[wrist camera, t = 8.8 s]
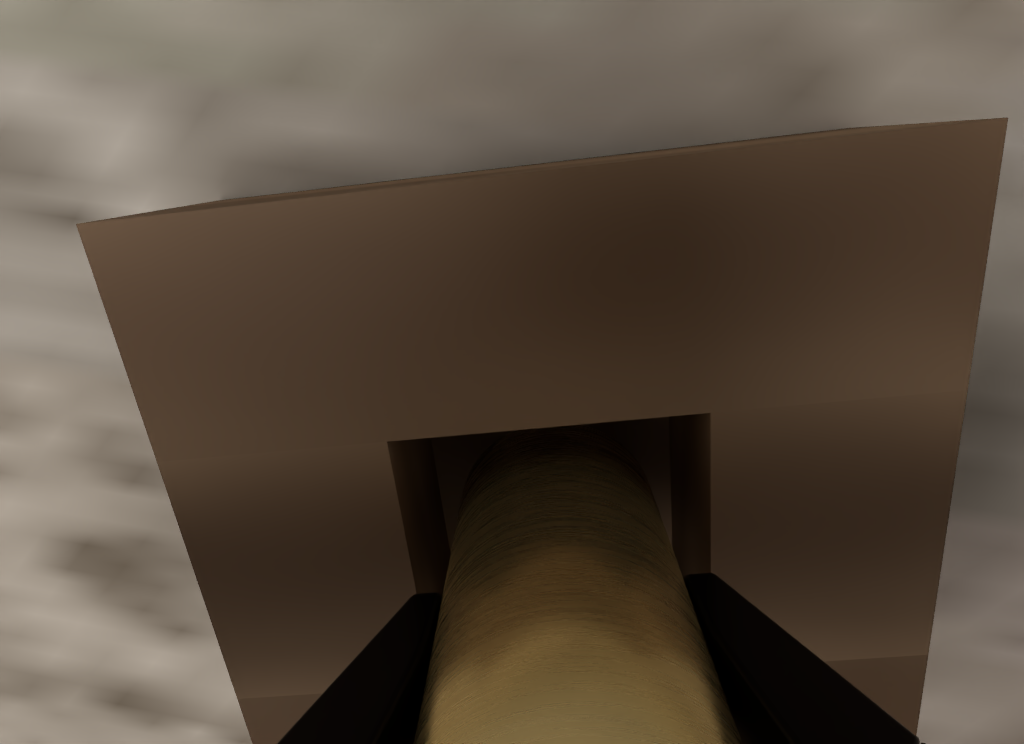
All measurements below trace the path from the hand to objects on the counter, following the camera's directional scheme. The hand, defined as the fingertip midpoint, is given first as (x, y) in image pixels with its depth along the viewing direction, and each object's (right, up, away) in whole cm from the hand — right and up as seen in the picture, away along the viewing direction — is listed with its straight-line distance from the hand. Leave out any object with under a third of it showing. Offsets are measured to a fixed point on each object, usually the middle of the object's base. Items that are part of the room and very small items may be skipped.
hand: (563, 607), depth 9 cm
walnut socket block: (0, +2, +5) cm, 5 cm away
